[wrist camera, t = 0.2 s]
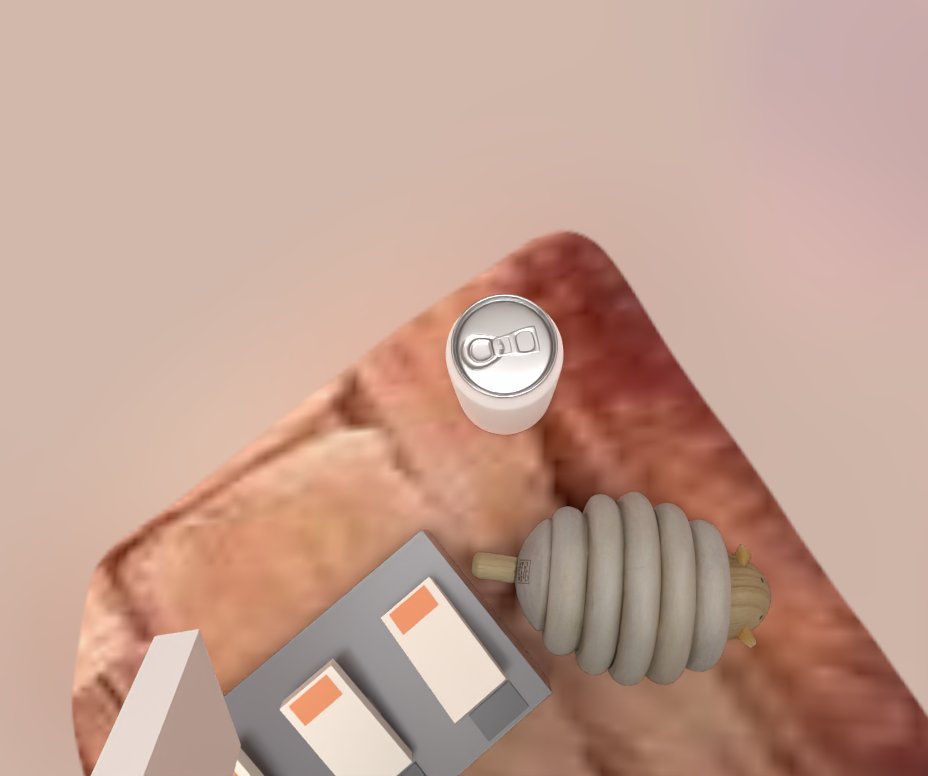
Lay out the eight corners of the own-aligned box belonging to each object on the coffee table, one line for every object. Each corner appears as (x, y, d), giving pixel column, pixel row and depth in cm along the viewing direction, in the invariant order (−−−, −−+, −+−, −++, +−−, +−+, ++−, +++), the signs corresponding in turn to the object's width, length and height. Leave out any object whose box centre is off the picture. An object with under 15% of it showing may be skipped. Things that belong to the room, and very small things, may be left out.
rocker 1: (411, 750, 42) (412, 762, 40) (362, 793, 41) (361, 807, 40) (333, 656, 41) (330, 666, 40) (283, 699, 41) (279, 710, 40)
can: (448, 354, 50) (431, 300, 39) (540, 334, 50) (550, 274, 39) (467, 445, 49) (456, 417, 37) (561, 424, 49) (579, 391, 37)
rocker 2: (509, 678, 41) (505, 678, 39) (459, 721, 40) (454, 723, 39) (434, 579, 43) (428, 576, 42) (387, 619, 43) (380, 617, 42)
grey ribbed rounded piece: (743, 670, 46) (817, 714, 35) (473, 659, 47) (463, 698, 36) (736, 499, 48) (804, 490, 37) (477, 492, 49) (469, 481, 38)
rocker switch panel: (548, 678, 46) (552, 695, 41) (299, 898, 44) (275, 940, 40) (428, 530, 48) (420, 530, 44) (187, 733, 47) (152, 756, 42)
